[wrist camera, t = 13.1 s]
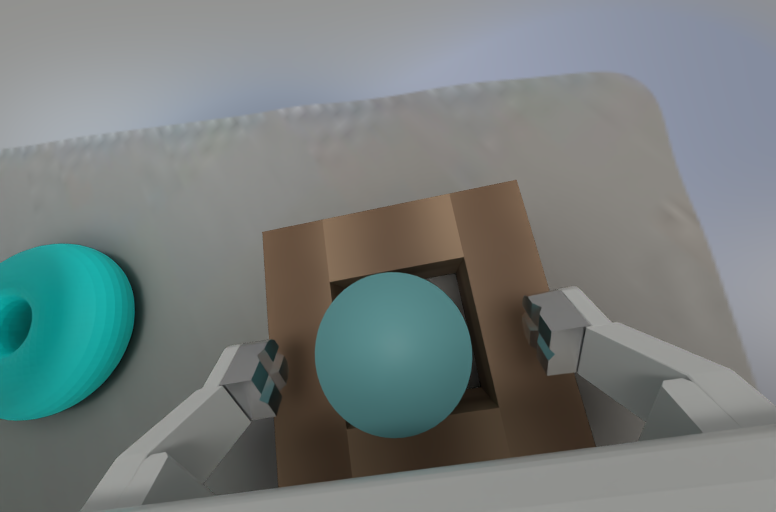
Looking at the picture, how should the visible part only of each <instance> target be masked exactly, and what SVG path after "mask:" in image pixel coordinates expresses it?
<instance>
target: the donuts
mask: <svg viewBox="0 0 776 512" xmlns="http://www.w3.org/2000/svg"><path fill="white" fill-rule="evenodd" d="M134 317H135V303H134V296H133V291H132V288H131V285H130V283H129V280H128V278H127V276H126V275H125V273H124V272H123V270H122V269H121V268H120V267H119V266H118V265H117V264H116V263H115V262H114V261H113V260H112V259H111V258H110V257H108V256H107V255H105V254H103V253H101V252H99V251H97V250H95V249H92V248H89V247H86V246H81V245H76V244H50V245H43V246H38V247H35V248H32V249H29V250H26V251H23V252H20V253H18V254H16V255H14V256H12V257H10V258H8V259H6V260H5V261H3V262H2V263H0V419H5V420H14V421H18V420H32V419H38V418H42V417H46V416H50V415H53V414H56V413H59V412H61V411H63V410H65V409H67V408H70V407H72V406H74V405H75V404H77V403H79V402H80V401H82V400H83V399H85V398H86V397H87V396H89V395H90V394H91V393H93V392H94V391H95V390H96V389H97V388H98V387H100V386H101V385H102V384H103V383H104V382H105V380H106V379H107V378H108V377H109V376H110V375H111V373H112V372H113V371H114V369H115V368H116V366H117V365H118V363H119V362H120V360H121V358H122V356H123V354H124V353H125V351H126V348H127V346H128V343H129V340H130V338H131V334H132V331H133V326H134Z"/></svg>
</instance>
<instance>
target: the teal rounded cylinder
mask: <svg viewBox="0 0 776 512" xmlns="http://www.w3.org/2000/svg"><path fill="white" fill-rule="evenodd" d="M315 365H316V371H317V375H318V379H319V382H320V385H321V387H322V390H323V392H324V394H325V396H326V397H327V399H328V401H329V403H330V404H331V405H332V407H333V408H334V409H335V410H336V412H337V413H338V414H339V415H340V416H341V417H342V418H343V419H345V420H346V421H347V422H349V423H350V424H351V425H353V426H354V427H356V428H358V429H360V430H361V431H364V432H366V433H369V434H371V435H375V436H379V437H385V438H405V437H410V436H414V435H418V434H420V433H423V432H426V431H428V430H429V429H431V428H433V427H435V426H436V425H438V424H439V423H440V422H442V421H443V420H444V419H445V418H446V417H447V416H448V415H449V414H450V413H451V412H452V411H453V410H454V408H455V407H456V406H457V404H458V403H459V401H460V400H461V398H462V396H463V394H464V392H465V390H466V387H467V385H468V382H469V378H470V373H471V367H472V345H471V339H470V335H469V331H468V328H467V325H466V323H465V321H464V318H463V316H462V314H461V313H460V311H459V309H458V308H457V306H456V305H455V304H454V302H453V301H452V300H451V299H450V298H449V297H448V296H447V295H446V294H445V293H444V292H443V291H442V290H441V289H439V288H438V287H437V286H435V285H434V284H432V283H430V282H429V281H427V280H425V279H422V278H420V277H418V276H414V275H410V274H406V273H399V272H387V273H379V274H375V275H371V276H368V277H365V278H363V279H360V280H358V281H357V282H355V283H353V284H351V285H350V286H349V287H347V288H346V289H345V290H343V291H342V292H341V293H340V294H339V295H338V296H337V297H336V298H335V300H334V301H333V302H332V303H331V305H330V306H329V308H328V309H327V311H326V312H325V314H324V317H323V319H322V321H321V323H320V326H319V329H318V333H317V338H316V344H315Z"/></svg>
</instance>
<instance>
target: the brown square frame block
mask: <svg viewBox="0 0 776 512" xmlns="http://www.w3.org/2000/svg"><path fill="white" fill-rule="evenodd" d="M262 233H263V249H264V266H265V282H266V298H267V314H268V330H269V339H272V340H275V341H276V343H277V344H278V346H279V348H278V351H277V352H278V353H280V354H282V355H284V356H285V358H286V360H287V363H288V367H289V373H288V380H287V383H286V385H285V386H284V387H283V388H282V389H281V390H280V393H281V395H282V400H281V403H280V406H279V410H278V413H277V416H275V417H274V427H275V443H276V459H277V475H278V488H279V487H287V486H295V485H303V484H311V483H318V482H326V481H334V480H342V479H349V478H357V477H365V476H373V475H380V474H388V473H396V472H404V471H411V470H419V469H427V468H435V467H443V466H450V465H458V464H466V463H474V462H482V461H490V460H497V459H505V458H513V457H521V456H529V455H537V454H544V453H552V452H560V451H568V450H576V449H583V448H591V447H596V446H595V442H594V439H593V435H592V432H591V429H590V425H589V422H588V419H587V415H586V412H585V409H584V405H583V402H582V398H581V395H580V392H579V388H578V385H577V382H576V378H575V375H574V373H566V374H558V375H550V376H547V375H546V373H545V372H544V370H543V368H542V366H541V364H540V363H539V361H538V359H537V357H536V356H537V349H535V348H533V347H531V346H530V345H529V343H528V341H527V339H526V337H525V334H524V331H523V327H522V315H523V314H524V313H525V312H526V311H525V309H524V307H523V306H522V300H523V297H524V295H529V294H534V293H540V292H545V291H549V287H548V284H547V281H546V277H545V274H544V271H543V267H542V264H541V261H540V257H539V254H538V251H537V247H536V244H535V240H534V237H533V234H532V230H531V227H530V224H529V220H528V217H527V214H526V210H525V207H524V203H523V200H522V197H521V193H520V190H519V187H518V183H517V180H513V181H508V182H504V183H499V184H494V185H489V186H484V187H479V188H474V189H469V190H465V191H460V192H455V193H450V194H445V195H440V196H435V197H431V198H426V199H421V200H416V201H411V202H406V203H401V204H396V205H392V206H387V207H382V208H377V209H372V210H367V211H362V212H358V213H353V214H348V215H343V216H338V217H333V218H328V219H323V220H319V221H314V222H309V223H304V224H299V225H294V226H289V227H285V228H280V229H275V230H270V231H265V232H262ZM387 272H399V273H406V274H410V275H414V276H418V277H420V278H422V279H425V278H430V277H436V276H441V275H447V274H452V273H456V277H457V281H458V286H459V290H460V295H461V299H462V303H463V308H464V312H465V317H466V321H467V326H468V330H469V335H470V339H471V344H472V348H473V353H474V357H475V362H476V366H477V371H478V375H479V380H480V384H481V387H479V388H472V389H466V390H465V392H464V394H463V396H462V398H461V400H460V401H459V403H458V404H457V406H456V407H455V408H454V410H453V411H452V412H451V413H450V414H449V415H448V416H447V417H446V418H445V419H444V420H443V421H442V422H440V423H439V424H438V425H436V426H435V427H433V428H431V429H429V430H428V431H426V432H423V433H420V434H418V435H414V436H410V437H405V438H385V437H379V436H375V435H371V434H369V433H366V432H364V431H361V430H360V429H358V428H356V427H354V426H353V425H351V424H350V423H349V422H347V421H346V420H345V419H343V418H342V417H341V416H340V415H339V414H338V413H337V412H336V410H335V409H334V408H333V407H332V405H331V404H330V403H329V401H328V399H327V397H326V396H325V394H324V392H323V390H322V387H321V385H320V382H319V379H318V375H317V371H316V365H315V344H316V338H317V333H318V329H319V326H320V323H321V321H322V319H323V317H324V314H325V312H326V311H327V309H328V308H329V306H330V305H331V303H332V302H333V301H334V300H335V298H336V297H337V296H338V295H339V294H340V293H341V292H342V291H343V290H345V289H346V288H347V287H349V286H350V285H351V284H353V283H355V282H357V281H358V280H360V279H363V278H365V277H368V276H371V275H375V274H379V273H387Z"/></svg>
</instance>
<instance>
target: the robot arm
mask: <svg viewBox="0 0 776 512" xmlns="http://www.w3.org/2000/svg"><path fill="white" fill-rule="evenodd" d="M522 306H523V307H524V309H525V311H526V312H525V313H524V314H523V315H522V327H523V331H524V334H525V337H526V339H527V341H528V343H529V345H530V346H531V347H533V348H535V349H537V356H536V357H537V359H538V361H539V363H540V364H541V366H542V368H543V370H544V372H545V373H546V375H547V376H550V375H558V374H566V373H575V372H578V373H577V374H579V375H580V376H582V377H583V378H584V379H586V380H587V381H589V382H590V383H591V384H593V385H594V386H596V387H597V388H598V389H600V390H601V391H603V392H604V393H606V394H607V395H608V396H610V397H611V398H613V399H614V400H615V401H617V402H618V403H620V404H621V405H622V406H624V407H625V408H627V409H628V410H630V411H631V412H632V413H634V414H635V415H637V416H638V417H639V418H641V419H642V420H644V421H645V422H646V423H645V426H644V428H643V431H642V433H641V435H640V438H639V441H638V442H630V443H622V444H614V445H607V446H599V447H591V448H583V449H576V450H568V451H560V452H552V453H544V454H537V455H529V456H521V457H513V458H505V459H497V460H490V461H482V462H474V463H466V464H458V465H450V466H443V467H435V468H427V469H419V470H411V471H404V472H396V473H388V474H380V475H373V476H365V477H357V478H349V479H342V480H334V481H326V482H318V483H311V484H303V485H295V486H287V487H279V488H272V489H264V490H256V491H248V492H241V493H233V494H225V495H217V496H214V494H213V492H212V491H211V490H210V489H208V488H207V487H206V486H205V485H204V484H203V483H204V482H205V481H206V479H207V478H208V477H209V476H210V474H211V473H212V472H213V470H214V469H215V468H216V467H217V465H218V464H219V463H220V462H221V460H222V459H223V458H224V456H225V455H226V454H227V453H228V451H229V450H230V449H231V448H232V446H233V445H234V444H235V442H236V441H237V440H238V439H239V437H240V436H241V435H242V434H243V432H244V431H245V430H246V428H247V427H248V426H249V425H250V423H251V421H253V420H259V419H264V418H270V417H275V416H277V413H278V410H279V406H280V403H281V400H282V395H281V393H280V390H281V389H282V388H283V387H284V386H285V385H286V383H287V380H288V373H289V367H288V363H287V360H286V358H285V356H284V355H282V354H280V353H278V352H277V351H278V348H279V346H278V344H277V343H276V341H275V340H272V339H269V340H263V341H256V342H249V343H243V344H238V345H231V346H228V347H227V348H225V349H224V351H223V353H222V355H221V356H220V358H219V360H218V362H217V363H216V365H215V367H214V369H213V370H212V372H211V374H210V376H209V377H208V379H207V381H206V383H205V384H204V386H203V388H202V389H199V390H196V391H195V392H194V393H193V394H192V395H190V396H189V397H188V398H187V399H186V400H185V401H183V402H182V403H181V404H180V405H179V406H177V407H176V408H175V409H174V410H173V411H171V412H170V413H169V414H168V415H167V416H166V417H164V418H163V419H162V420H161V421H160V422H158V423H157V424H156V425H155V426H154V427H153V428H151V429H150V430H149V431H148V432H147V433H145V434H144V435H143V436H142V437H141V438H140V439H138V440H137V441H136V442H135V443H134V444H132V445H131V446H130V447H129V448H128V449H127V450H125V451H124V452H123V453H122V454H121V455H119V456H118V457H117V458H116V460H115V461H114V463H113V464H112V465H111V467H110V468H109V470H108V471H107V473H106V474H105V476H104V477H103V478H102V480H101V481H100V483H99V484H98V486H97V487H96V489H95V490H94V491H93V493H92V494H91V496H90V497H89V499H88V500H87V502H86V503H85V505H84V506H83V507H82V509H81V510H80V512H776V406H775V405H774V404H772V403H771V402H770V401H769V400H767V398H765V397H764V396H763V395H762V394H761V393H759V392H758V391H757V390H756V389H755V388H753V387H752V386H751V385H750V384H749V383H747V382H746V381H745V380H744V379H743V378H741V377H740V376H739V375H738V374H737V373H735V372H734V371H733V370H732V369H729V368H727V367H724V366H722V365H720V364H717V363H715V362H712V361H710V360H708V359H705V358H703V357H700V356H698V355H696V354H693V353H691V352H688V351H686V350H684V349H681V348H679V347H677V346H674V345H672V344H669V343H667V342H665V341H662V340H660V339H657V338H655V337H653V336H650V335H648V334H645V333H643V332H641V331H638V330H636V329H633V328H631V327H629V326H626V325H624V324H622V323H619V322H614V323H612V322H611V321H610V320H609V319H608V318H607V317H606V316H605V315H604V314H603V313H602V312H601V311H600V309H599V308H598V307H597V306H596V305H595V304H594V303H593V302H592V301H591V300H590V299H589V298H588V297H587V296H586V295H585V294H584V293H583V292H582V291H581V290H580V289H579V288H578V287H576V286H571V287H566V288H561V289H557V290H551V291H545V292H540V293H534V294H529V295H524V297H523V300H522Z"/></svg>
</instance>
